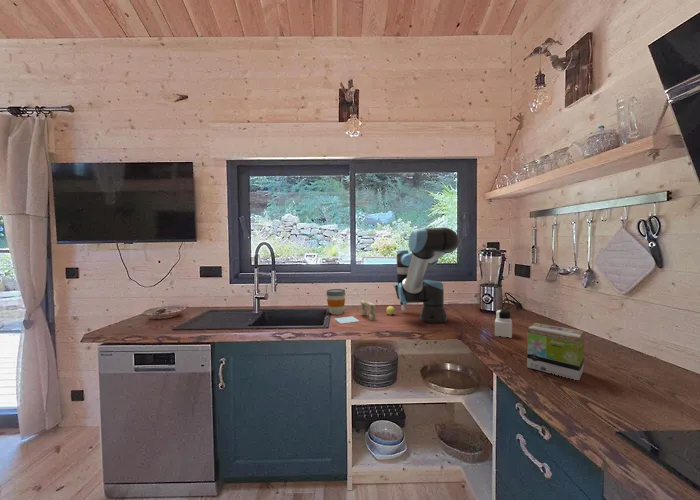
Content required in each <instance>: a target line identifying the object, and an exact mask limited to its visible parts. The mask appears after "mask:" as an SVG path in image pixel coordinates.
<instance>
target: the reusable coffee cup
mask: <svg viewBox="0 0 700 500" xmlns="http://www.w3.org/2000/svg"><path fill="white" fill-rule="evenodd" d="M345 296H346V290H345V289H341V288H332V289H331V288H330V289H327V290H326V297H327V299H326V301H327V306H328V311H329V314H330V313H331V314H330V315H341V314H343V313H344V307H345V303H346V297H345Z"/></svg>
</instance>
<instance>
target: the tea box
mask: <svg viewBox="0 0 700 500" xmlns="http://www.w3.org/2000/svg"><path fill="white" fill-rule="evenodd" d="M526 337H527V339H526V341H527V342H526V345H527V347H526V348H527V349H526V350H527V351H526V354H527V355H526V358H527V360H526V365H527V369H528V368H529V369H533V370H537V371H541V372H543V373H547V374H551V373H552V374H551V375H554V374H555V375H554V376H558V375H559V376H558V377H561V376H562V377H561V378H565V377H566V378H565V379H568V378H570V379H569V380H571V379H574V380H573V381H575V380H579V381H580V379H581V377H582V375H583V372H584V362H585V361H584V359H585V356H584V353H585V352H584V350H585V343H584V342H585V331H584V330H578V329H573V328H568V327H561V326H557V325H549V324H544V323H539V322H538V323H537V322H533V324H532V325H530V326H529V327H528V328H527V336H526Z"/></svg>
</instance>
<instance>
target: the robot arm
mask: <svg viewBox="0 0 700 500" xmlns="http://www.w3.org/2000/svg"><path fill="white" fill-rule="evenodd" d="M408 240H409V241H408V248H409V250H408V249H398V250H397V251H396V273H397V275H396V277H397V278H396V279H397V281H396V284H393V287H394V290H395V294H396V299H398V300H399V301H400V302H399V303H400V306H401V307H400V308H401V310H402V311H406V309H407V308H406V305H407V304H413V303H415V304H416V303H419V304H420V303H422V309H421V313H420V315H419V316H420V320H421V321H422V322H425V323H431V324H432V323H433V324H437V323H438V324H440V323H446V322H447V321H448V316H447V313H446V311H445V307H444V300H445V299H444V297H445V296H444V291H445V290H444V283H443V282H441V281H438V280H432V279H424V276H425V273H426V271H427V267H428V266H435V265H437V264H438V262H439V259H440V258H442V257H444V256H445V255H446V254H451V253H453V252H455V250H457V248H458V247H459V245H460V238H459V236H458V234H457V232H455V231H454V230H453V229H451V228H448V227H427V228H425V227H420V228H414V229H413V230H412V231H410V234H409V237H408ZM410 252H411V253H410Z"/></svg>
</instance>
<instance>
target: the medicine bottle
mask: <svg viewBox="0 0 700 500" xmlns="http://www.w3.org/2000/svg"><path fill="white" fill-rule="evenodd" d="M495 313H496V315H495V316H496V318H495V320H494V336H495V337H499V336H501V337H500V338H506V337H509V339H512V338H513V320H512V319H511V312H510V311H509V310H507V309H498V310H496V311H495Z"/></svg>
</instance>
